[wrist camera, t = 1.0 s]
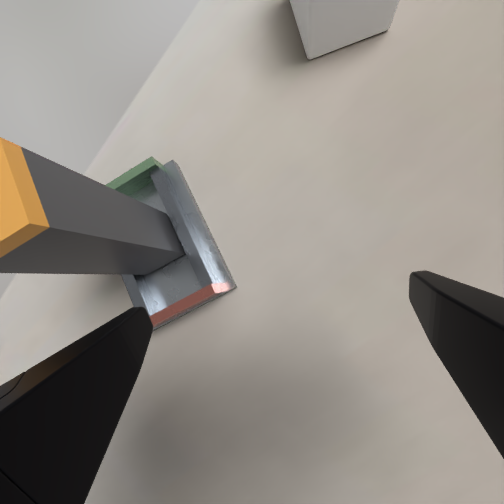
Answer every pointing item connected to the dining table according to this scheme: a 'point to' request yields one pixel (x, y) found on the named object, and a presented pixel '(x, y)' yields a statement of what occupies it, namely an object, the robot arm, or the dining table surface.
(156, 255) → the block
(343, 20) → the medicine bottle
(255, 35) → the dining table surface
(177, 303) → the grey rectangular tray
